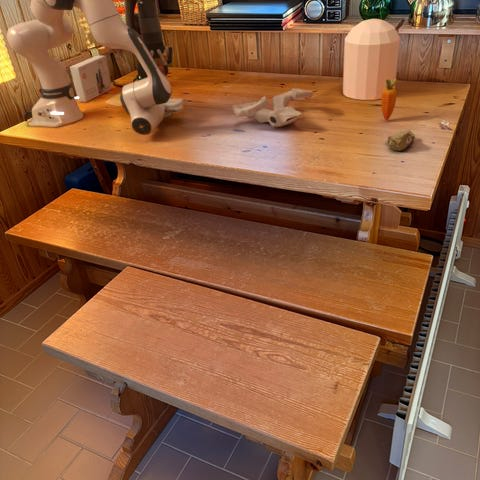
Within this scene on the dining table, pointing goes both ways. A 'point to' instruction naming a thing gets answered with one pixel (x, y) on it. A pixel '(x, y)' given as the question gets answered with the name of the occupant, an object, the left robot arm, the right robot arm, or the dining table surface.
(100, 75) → the skincare box
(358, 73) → the container
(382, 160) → the dining table surface
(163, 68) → the lid
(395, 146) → the rock
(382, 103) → the carrot
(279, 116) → the animal horns
